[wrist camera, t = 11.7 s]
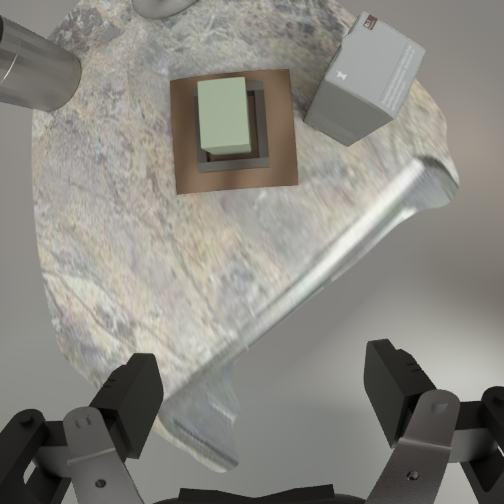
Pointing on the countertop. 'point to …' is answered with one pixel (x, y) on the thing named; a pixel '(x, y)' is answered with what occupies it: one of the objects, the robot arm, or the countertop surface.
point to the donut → (160, 7)
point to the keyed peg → (224, 116)
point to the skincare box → (365, 81)
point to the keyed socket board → (261, 129)
